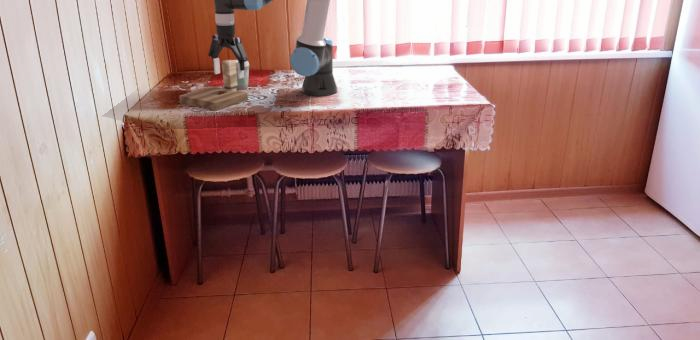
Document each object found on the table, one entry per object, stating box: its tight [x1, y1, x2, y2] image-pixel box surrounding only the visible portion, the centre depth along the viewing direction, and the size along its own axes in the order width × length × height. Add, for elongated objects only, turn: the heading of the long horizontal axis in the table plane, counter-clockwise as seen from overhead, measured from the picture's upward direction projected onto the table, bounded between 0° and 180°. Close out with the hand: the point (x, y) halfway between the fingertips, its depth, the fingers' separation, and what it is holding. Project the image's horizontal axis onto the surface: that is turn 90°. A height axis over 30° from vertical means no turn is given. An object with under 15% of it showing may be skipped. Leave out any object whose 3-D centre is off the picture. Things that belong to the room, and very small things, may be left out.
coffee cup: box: [233, 59, 250, 91], centre depth 227 cm, size 9×8×12 cm
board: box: [178, 86, 249, 112], centre depth 208 cm, size 20×18×3 cm
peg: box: [221, 59, 238, 91], centre depth 217 cm, size 4×4×14 cm
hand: (229, 75), depth 217 cm, fingers open, 13 cm apart
